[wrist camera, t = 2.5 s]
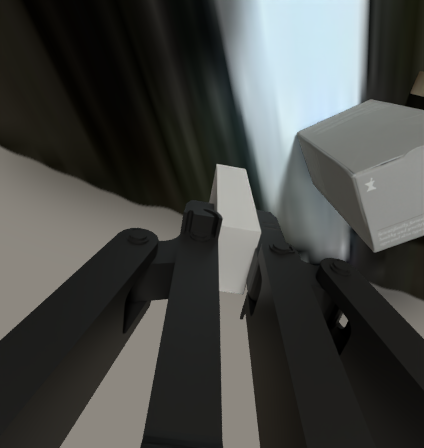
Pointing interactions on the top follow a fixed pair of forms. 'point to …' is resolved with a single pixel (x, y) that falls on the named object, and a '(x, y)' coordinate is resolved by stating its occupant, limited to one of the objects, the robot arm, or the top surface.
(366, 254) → the top surface
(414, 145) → the skincare box
